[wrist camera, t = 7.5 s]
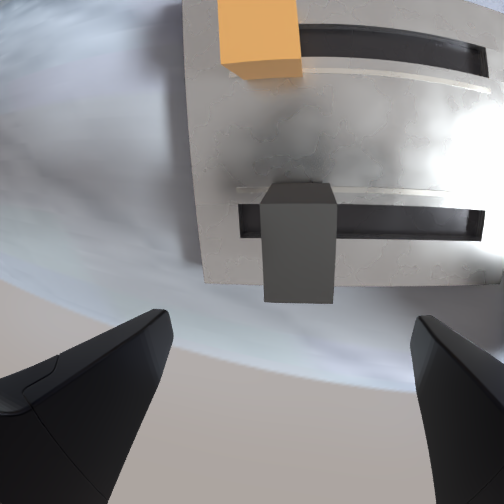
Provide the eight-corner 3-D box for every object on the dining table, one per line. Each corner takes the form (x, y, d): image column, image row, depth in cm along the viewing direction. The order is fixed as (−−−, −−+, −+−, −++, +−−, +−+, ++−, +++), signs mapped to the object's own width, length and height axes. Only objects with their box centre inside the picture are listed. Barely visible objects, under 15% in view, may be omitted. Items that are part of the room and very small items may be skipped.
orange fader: (297, 10, 14) (291, -36, 8) (303, 80, 15) (300, 58, 10) (243, 14, 14) (216, -28, 9) (248, 83, 16) (220, 64, 10)
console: (493, 21, 12) (508, 15, 10) (487, 271, 18) (500, 284, 16) (193, 4, 15) (181, -7, 13) (213, 269, 22) (204, 284, 20)
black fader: (327, 179, 17) (337, 203, 12) (326, 252, 19) (332, 303, 13) (274, 179, 18) (259, 203, 12) (277, 252, 19) (264, 302, 14)
